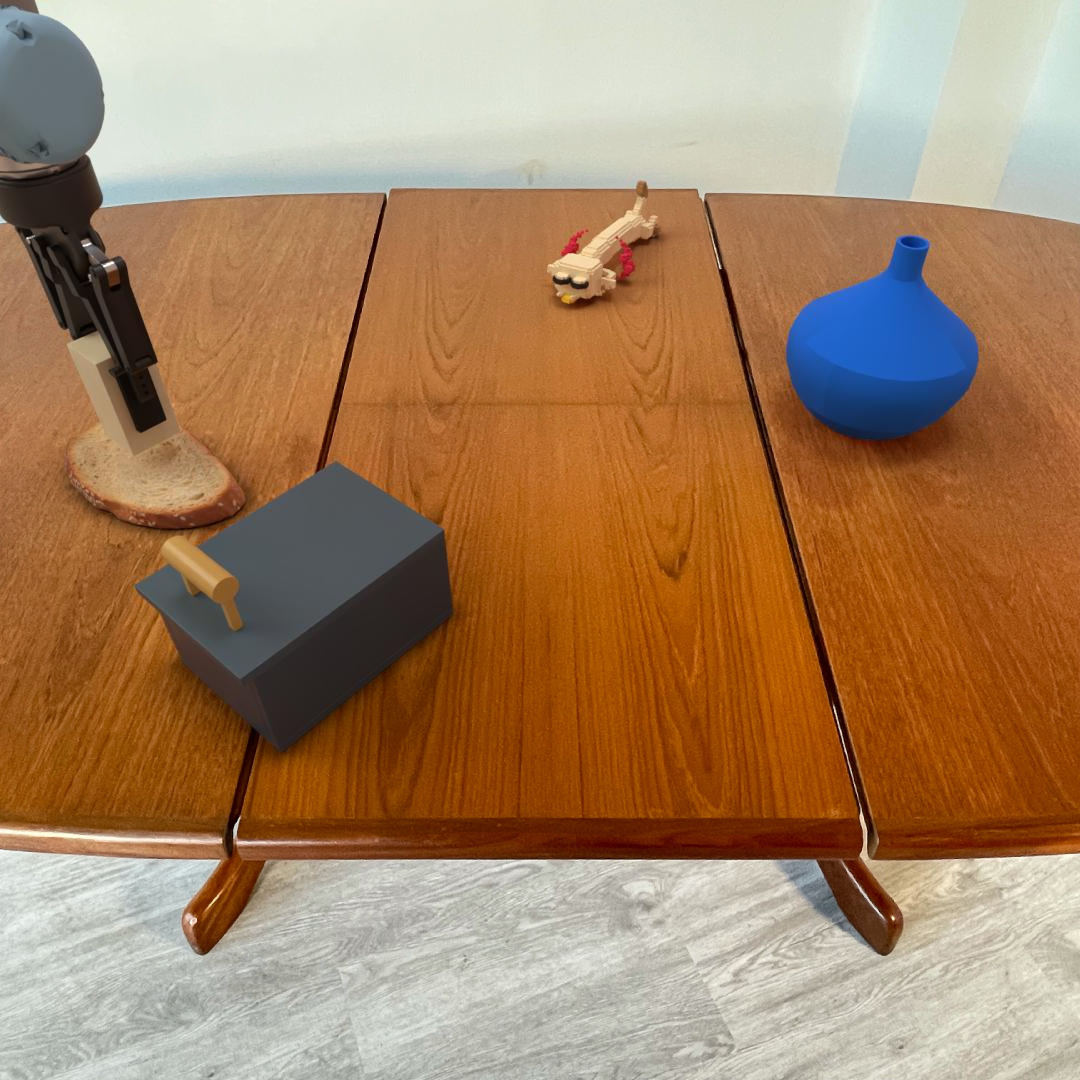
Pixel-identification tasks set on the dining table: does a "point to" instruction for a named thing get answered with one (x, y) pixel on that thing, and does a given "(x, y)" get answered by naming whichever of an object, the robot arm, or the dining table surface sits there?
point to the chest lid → (286, 569)
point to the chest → (333, 653)
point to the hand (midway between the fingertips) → (134, 412)
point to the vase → (882, 352)
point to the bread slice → (153, 480)
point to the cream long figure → (602, 254)
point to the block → (118, 397)
